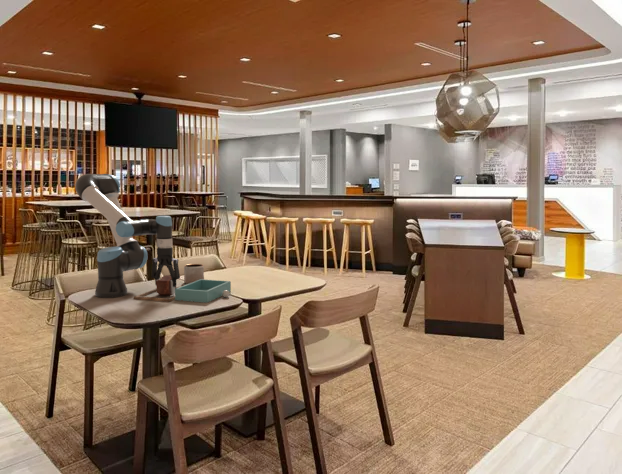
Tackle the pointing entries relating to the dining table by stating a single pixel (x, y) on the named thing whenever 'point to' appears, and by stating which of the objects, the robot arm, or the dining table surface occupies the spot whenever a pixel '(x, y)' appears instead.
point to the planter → (193, 272)
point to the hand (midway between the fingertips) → (166, 292)
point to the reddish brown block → (164, 286)
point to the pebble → (225, 293)
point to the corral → (152, 297)
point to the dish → (202, 290)
